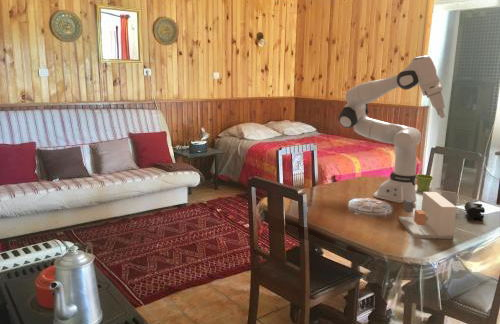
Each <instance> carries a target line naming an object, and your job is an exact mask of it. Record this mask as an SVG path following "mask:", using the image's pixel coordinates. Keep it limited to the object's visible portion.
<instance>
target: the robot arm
mask: <svg viewBox="0 0 500 324" xmlns="http://www.w3.org/2000/svg"><path fill="white" fill-rule="evenodd" d="M437 73H438V72H437V68H436V65H435V64H434V61H433V60H432V58H431V57H430V55H425V54H424V55H419V56H415V57H413V58H412V60H411V61H410V63H409V64H408V65H407V66H406V67H405V68H404V69H402V70H401V71H400V72H399V73H398V74H396V75H392V76H390V77H387V78H382V79H377V80H369V81H366V82H363V83H360V84H357V85H355V86H353V87H352V88H349V89H348V90H347V91H346V93H345V101H346V104H345V105H344V107H343V108H342V110H341V111H340V112H339V114H338V122H339V125H341V126H342V127H343V128H346V129H351V128H353V130H354V132H355V133H356V134H358V135H360V136H363V137H364V138H367V139H369V140H370V139H371V140H374V141H377V142H381V143H386V144H393V145H394V155H395V157H394V171H391V173H390V175H389V179H387V180H385V181H384V182H382V183H380V185H379V187H378V190H376V191H375V192H374V193H373V197H375V198H378V199H382V200H386V201H390V202H393V203H394V202H395V203H399V204H400V203H403V201H404V199H411V200H412V201H413V202H416V201H417V195H416V185H417V184H416V183H417V177H416V175H417V165H418V164H417V163H418V159H417V146H418V145H419V144H420V143H421V141H422V133H421V131H420V130H419V128H418V129H417V127H412V126H407V125H402V124H398V123H393V122H392V123H391V122H386V121H382V120H379V119H375V118H371V117H369V116H368V114H369V106H368V104H370V103H373V102H374V101H377V100H378V99H380V98H381V97H383V96H384V95H386V94H388V93H389V92H391V91H393V90H395V89H398V88H400V89H402V90H411V89H413V88H415V87H417V86H419V87H420V90H421V93H422V96H426V98H427V99H429V101H430V104H431V106H432V107H433V108H434V109H435V111H436V114H437V115H438V116H439V117H440V118H441V119H443V118H445V117H446V114H445V113H444V111H445V110H444V109H445V107H446V106H445V102H444V98H443V93H442V91H443V85H442V83H441V79H440V78H439V76H438V74H437Z"/></svg>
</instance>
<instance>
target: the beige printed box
mask: <svg viewBox="0 0 500 324" xmlns="http://www.w3.org/2000/svg"><path fill="white" fill-rule="evenodd" d="M440 195H441V196H442V197H444V198H445V199H446V200H448V201H449V202H450V203H452V204H453V205H454V206H456V207H457V198H458V192H453V191H447V190H441V194H440Z"/></svg>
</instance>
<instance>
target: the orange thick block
mask: <svg viewBox="0 0 500 324" xmlns="http://www.w3.org/2000/svg"><path fill="white" fill-rule="evenodd" d="M413 217H414V222H415V223H416V224H417V225H425V221H428V215H426V213H425V212H424V211H423V210H422V209H415V210H414V216H413Z"/></svg>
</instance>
